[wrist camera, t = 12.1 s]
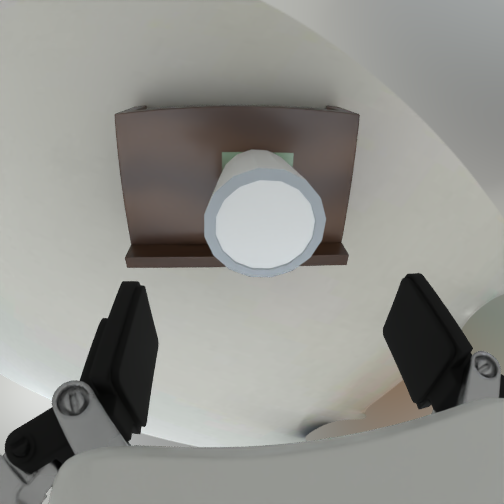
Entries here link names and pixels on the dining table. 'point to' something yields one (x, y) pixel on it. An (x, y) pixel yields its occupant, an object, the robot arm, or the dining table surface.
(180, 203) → the shelf
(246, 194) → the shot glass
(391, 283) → the dining table surface
